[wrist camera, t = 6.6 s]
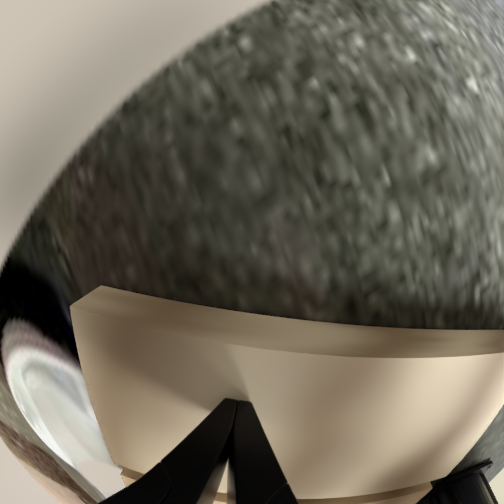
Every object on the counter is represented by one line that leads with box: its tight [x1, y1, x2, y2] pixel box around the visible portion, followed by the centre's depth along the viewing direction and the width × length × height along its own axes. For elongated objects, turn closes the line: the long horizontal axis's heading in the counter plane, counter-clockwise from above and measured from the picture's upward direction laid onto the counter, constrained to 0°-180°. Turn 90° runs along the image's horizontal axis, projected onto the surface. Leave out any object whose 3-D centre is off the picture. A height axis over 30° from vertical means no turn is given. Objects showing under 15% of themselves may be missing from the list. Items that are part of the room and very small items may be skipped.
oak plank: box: [70, 285, 504, 499], centre depth 9 cm, size 18×9×2 cm, turn 83°
